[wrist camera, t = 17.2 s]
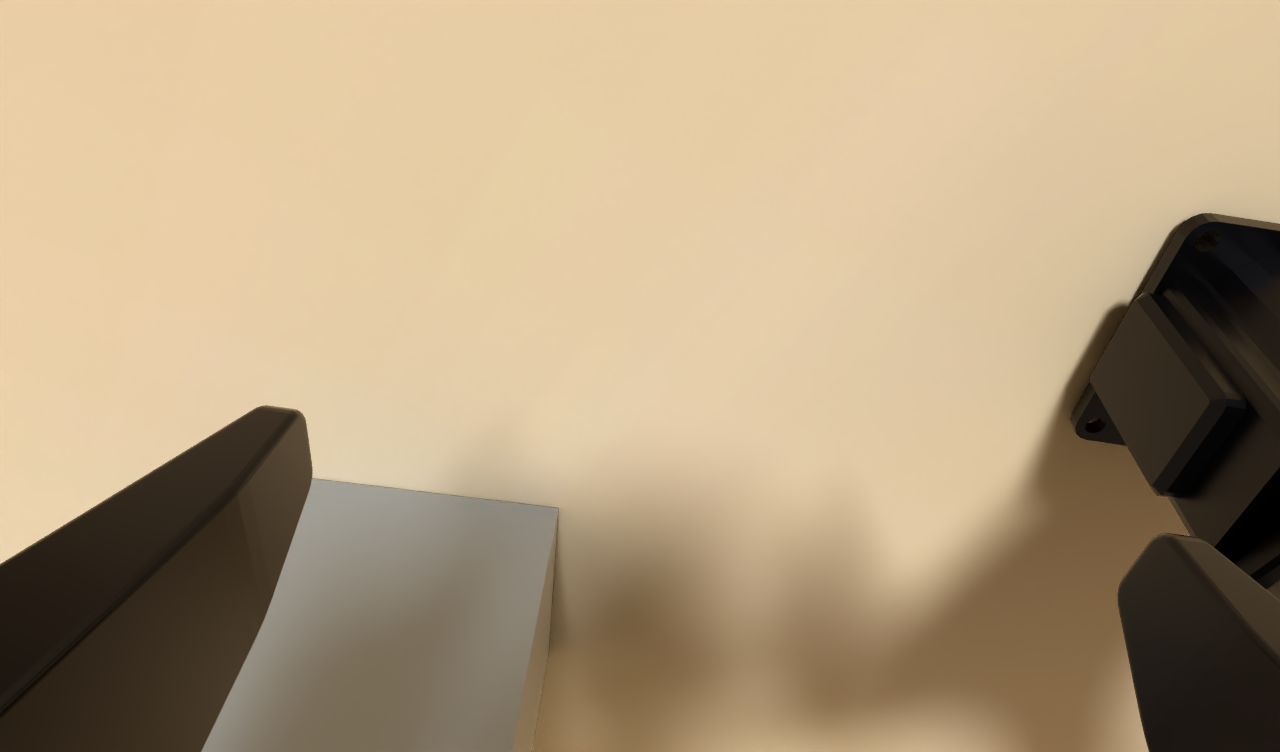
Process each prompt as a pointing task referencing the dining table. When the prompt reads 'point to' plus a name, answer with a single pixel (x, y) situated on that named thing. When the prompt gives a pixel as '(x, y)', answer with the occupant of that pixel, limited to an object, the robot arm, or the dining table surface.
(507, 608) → the grey faceted block
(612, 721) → the dining table surface
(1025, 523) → the dining table surface
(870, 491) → the dining table surface
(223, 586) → the robot arm
